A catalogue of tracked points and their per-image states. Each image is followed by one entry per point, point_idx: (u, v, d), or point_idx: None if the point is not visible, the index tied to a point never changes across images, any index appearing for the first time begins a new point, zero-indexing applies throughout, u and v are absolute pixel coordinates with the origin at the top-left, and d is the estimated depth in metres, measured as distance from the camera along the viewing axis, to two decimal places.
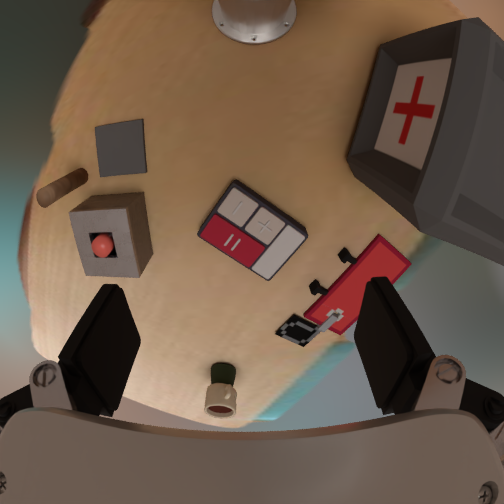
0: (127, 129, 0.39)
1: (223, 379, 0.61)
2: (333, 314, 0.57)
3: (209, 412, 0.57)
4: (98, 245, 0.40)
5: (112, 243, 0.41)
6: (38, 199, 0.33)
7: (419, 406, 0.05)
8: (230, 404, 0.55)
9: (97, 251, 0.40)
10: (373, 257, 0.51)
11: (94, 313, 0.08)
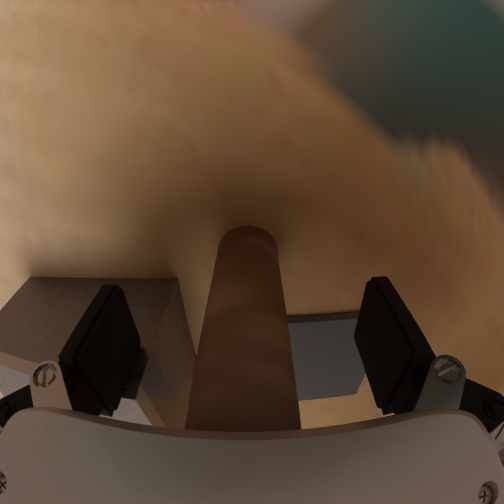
0: (348, 378, 0.19)
1: None
2: None
3: None
4: None
5: None
6: None
7: (419, 406, 0.05)
8: None
9: None
10: None
11: (94, 313, 0.08)
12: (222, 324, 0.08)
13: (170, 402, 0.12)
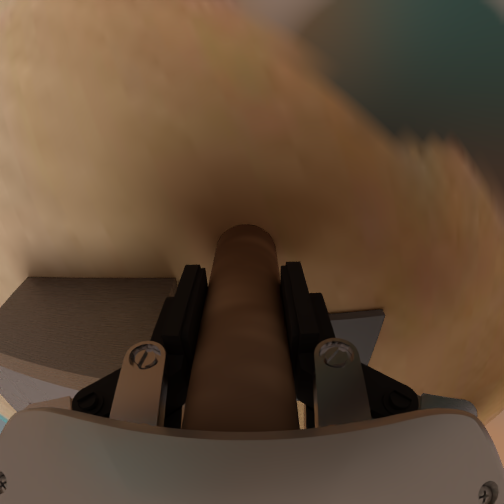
0: None
1: None
2: None
3: None
4: None
5: None
6: None
7: (321, 402, 0.06)
8: None
9: None
10: None
11: (188, 291, 0.09)
12: (219, 324, 0.08)
13: None
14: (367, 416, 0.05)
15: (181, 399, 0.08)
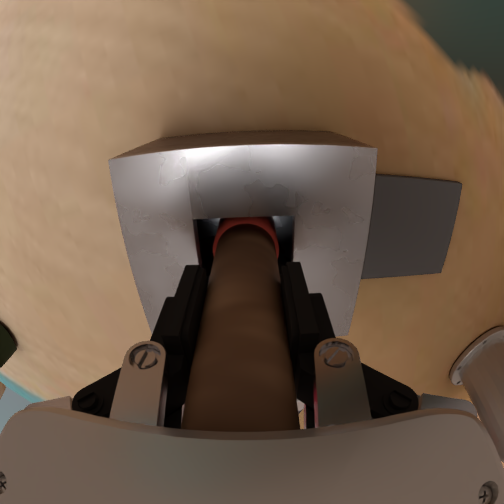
0: (438, 249, 0.22)
1: None
2: None
3: None
4: None
5: None
6: None
7: (321, 402, 0.06)
8: None
9: None
10: None
11: (188, 291, 0.09)
12: (219, 323, 0.08)
13: None
14: (367, 416, 0.05)
15: (181, 398, 0.08)
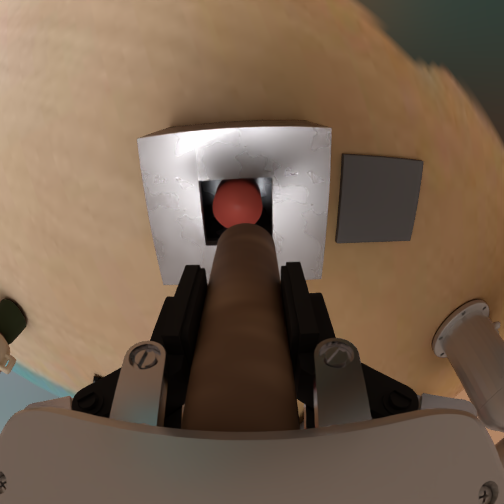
0: (405, 219, 0.27)
1: (10, 335, 0.29)
2: None
3: None
4: (244, 204, 0.19)
5: None
6: None
7: (321, 402, 0.06)
8: None
9: (229, 199, 0.19)
10: None
11: (188, 291, 0.09)
12: (219, 322, 0.08)
13: None
14: (367, 416, 0.05)
15: (181, 399, 0.08)
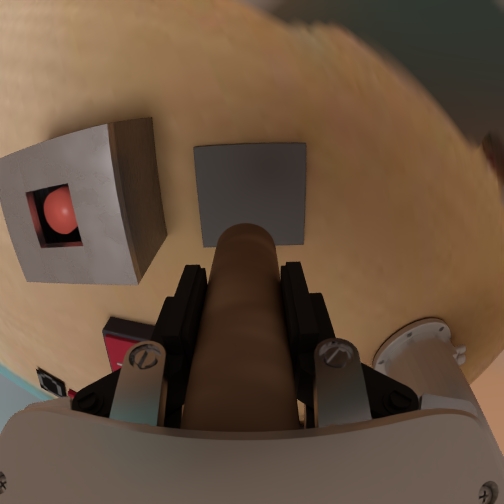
0: (289, 218, 0.24)
1: None
2: None
3: None
4: (63, 209, 0.17)
5: None
6: None
7: (321, 402, 0.06)
8: None
9: (53, 206, 0.17)
10: None
11: (188, 291, 0.09)
12: (219, 323, 0.08)
13: (129, 174, 0.17)
14: (367, 416, 0.05)
15: (180, 398, 0.08)
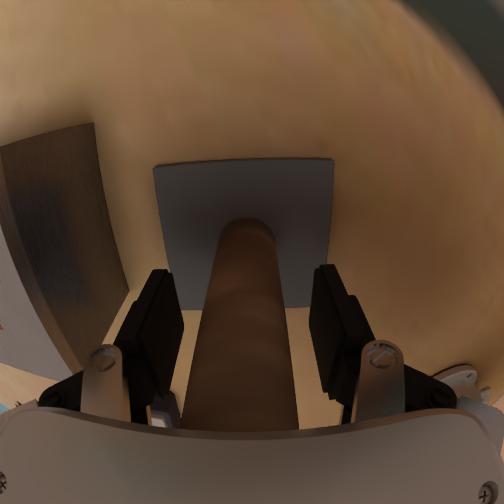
0: (303, 272, 0.16)
1: None
2: None
3: None
4: None
5: None
6: None
7: (361, 399, 0.05)
8: None
9: None
10: None
11: (150, 296, 0.09)
12: (221, 306, 0.09)
13: (42, 226, 0.09)
14: None
15: (141, 402, 0.07)
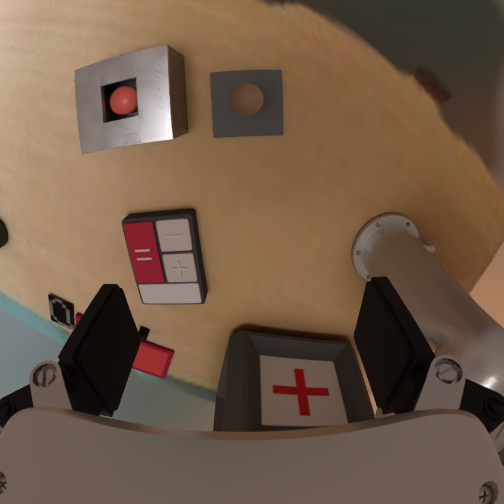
0: (272, 116, 0.33)
1: None
2: None
3: None
4: (126, 97, 0.26)
5: None
6: (244, 87, 0.21)
7: (419, 406, 0.05)
8: None
9: (118, 96, 0.26)
10: (153, 352, 0.54)
11: (94, 313, 0.08)
12: None
13: (173, 76, 0.26)
14: None
15: None
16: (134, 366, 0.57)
